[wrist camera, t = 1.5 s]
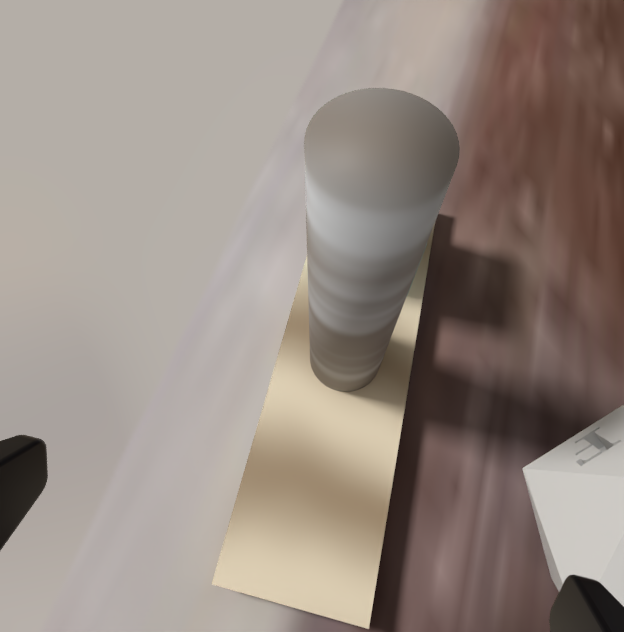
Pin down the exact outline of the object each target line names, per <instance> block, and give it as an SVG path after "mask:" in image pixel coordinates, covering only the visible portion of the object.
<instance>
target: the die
mask: <svg viewBox="0 0 624 632" xmlns="http://www.w3.org/2000/svg"><path fill="white" fill-rule="evenodd" d="M522 469H523V473H524V477H525V480H526V484H527V488H528V492H529V496H530V499H531V503H532V507H533V511H534V515H535V518H536V522H537V526H538V530H539V533H540V537H541V541H542V545H543V549H544V552H545V556H546V560H547V564H548V568H549V571H550V575H551V578H552V580H553V582H554V584H555V585H556V587H557V589H558V591H559V592H560V589H561V587H562V585H563V583H564V581H565V579H566V578H567V577H568V576H569V575H578V576H582V577H586V578H590V579H594V580H596V581H598V582H600V583H601V584H602V585H603V586H604V587H605V588H606V589H607V590H608V591H609V592H610V593H611V594H612V595H613V596H614V597H615V598H616V599H617V600H618V601H619V602H620V603H621V604H622V605H623V606H624V405H622V406H621V407H619V408H617V409H616V410H614V411H613V412H611V413H610V414H608V415H606V416H605V417H603V418H602V419H600V420H598V421H597V422H595V423H594V424H592V425H590V426H589V427H587V428H586V429H584V430H582V431H581V432H579V433H578V434H576V435H575V436H573V437H571V438H570V439H568V440H567V441H565V442H563V443H562V444H560V445H559V446H557V447H555V448H554V449H552V450H551V451H549V452H548V453H546V454H544V455H543V456H541V457H540V458H538V459H536V460H535V461H533V462H532V463H530V464H528V465H527V466H525V467H524V468H522Z"/></svg>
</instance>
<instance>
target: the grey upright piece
mask: <svg viewBox="0 0 624 632" xmlns="http://www.w3.org/2000/svg"><path fill="white" fill-rule="evenodd" d="M459 149H460V148H459V140H458V137H457V133H456V131H455V129H454V127H453V125H452V124H451V122H450V121H449V119H448V118H447V117H446V116H445V115H444V114H443V113H442V112H441V111H440V110H439V109H438V108H437V107H435V106H434V105H433V104H431V103H430V102H428V101H426V100H424V99H422V98H421V97H418V96H416V95H413V94H410V93H407V92H404V91H400V90H395V89H387V88H368V89H361V90H356V91H352V92H348V93H345V94H343V95H340V96H338V97H336V98H334V99H332V100H331V101H329V102H328V103H326V104H325V105H324V106H323V107H321V108H320V109H319V110H318V111H317V112H316V114H315V115H314V116H313V118H312V119H311V121H310V122H309V125H308V127H307V129H306V133H305V140H304V153H305V191H306V229H307V257H306V260H305V264H304V267H303V271H302V274H301V278H300V281H299V285H298V288H297V291H296V295H295V298H294V302H293V305H292V309H291V312H290V316H289V319H288V322H287V326H286V329H285V333H284V336H283V340H282V343H281V347H280V350H279V353H278V357H277V360H276V364H275V367H274V371H273V374H272V378H271V381H270V384H269V388H268V391H267V395H266V398H265V402H264V405H263V409H262V412H261V415H260V419H259V422H258V426H257V429H256V433H255V436H254V440H253V443H252V446H251V450H250V453H249V457H248V460H247V464H246V467H245V471H244V474H243V477H242V481H241V484H240V488H239V491H238V495H237V498H236V502H235V505H234V508H233V512H232V515H231V519H230V522H229V526H228V529H227V533H226V536H225V539H224V543H223V546H222V550H221V553H220V557H219V560H218V564H217V567H216V570H215V574H214V577H213V581H212V584H213V585H216V586H220V587H223V588H227V589H230V590H234V591H237V592H241V593H244V594H248V595H251V596H255V597H258V598H262V599H265V600H269V601H272V602H276V603H279V604H283V605H286V606H290V607H293V608H297V609H300V610H304V611H307V612H311V613H314V614H318V615H321V616H325V617H328V618H332V619H335V620H339V621H342V622H346V623H349V624H353V625H356V626H360V627H363V628H367V629H369V625H370V619H371V612H372V606H373V600H374V594H375V588H376V582H377V576H378V569H379V563H380V557H381V551H382V545H383V539H384V533H385V527H386V520H387V514H388V508H389V502H390V496H391V490H392V484H393V477H394V471H395V465H396V459H397V453H398V447H399V441H400V435H401V428H402V422H403V416H404V410H405V404H406V398H407V392H408V385H409V379H410V373H411V367H412V361H413V355H414V349H415V343H416V336H417V330H418V324H419V318H420V312H421V306H422V300H423V293H424V287H425V281H426V275H427V269H428V263H429V257H430V251H431V244H432V238H433V232H434V226H435V221H436V218H437V216H438V213H439V210H440V208H441V205H442V202H443V200H444V197H445V195H446V192H447V189H448V187H449V184H450V182H451V179H452V176H453V174H454V171H455V168H456V166H457V163H458V159H459ZM426 244H427V246H426ZM425 247H426V248H425ZM424 250H425V251H424ZM423 252H424V253H423ZM422 255H423V256H422ZM421 257H422V259H421ZM420 260H421V261H420ZM419 263H420V264H419ZM418 265H419V266H418ZM417 268H418V269H417ZM416 271H417V272H416ZM415 273H416V274H415ZM414 276H415V277H414ZM413 278H414V280H413ZM412 281H413V282H412ZM411 284H412V285H411ZM410 286H411V287H410ZM409 289H410V290H409ZM408 292H409V293H408ZM407 294H408V295H407Z"/></svg>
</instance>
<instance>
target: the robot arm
mask: <svg viewBox="0 0 624 632" xmlns="http://www.w3.org/2000/svg"><path fill="white" fill-rule="evenodd" d="M47 476H48V475H47V452H46V444H45V442H44V441H43V440H41V439H39V438H34V437H31V436H27V435H18V436H15V437H12V438H9V439H5V440H2V441H0V550H1V549H2V548H3V546H4V545H5V543H6V542H7V541H8V539H9V538H10V536H11V535H12V533H13V532H14V531H15V529H16V528H17V526H18V525H19V524H20V522H21V521H22V519H23V518H24V517H25V515H26V514H27V512H28V511H29V510H30V508H31V507H32V505H33V504H34V502H35V501H36V500H37V498H38V497H39V495H40V494H41V493H42V491H43V489H44V487H45V485H46V482H47ZM549 621H550V632H624V606H623V605H622V604H621V603H620V602H619V601H618V600H617V599H616V598H615V597H614V596H613V595H612V594H611V593H610V592H609V591H608V590H607V589H606V588H605V587H604V586H603V585H602V584H601V583H600V582H598V581H596V580H594V579H590V578H586V577H582V576H578V575H569V576H568V577H567V578H566V579H565V581H564V583H563V585H562V587H561V589H560V592H559V594H558V596H557V598H556V600H555V602H554V604H553V606H552V609H551V612H550V619H549Z"/></svg>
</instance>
